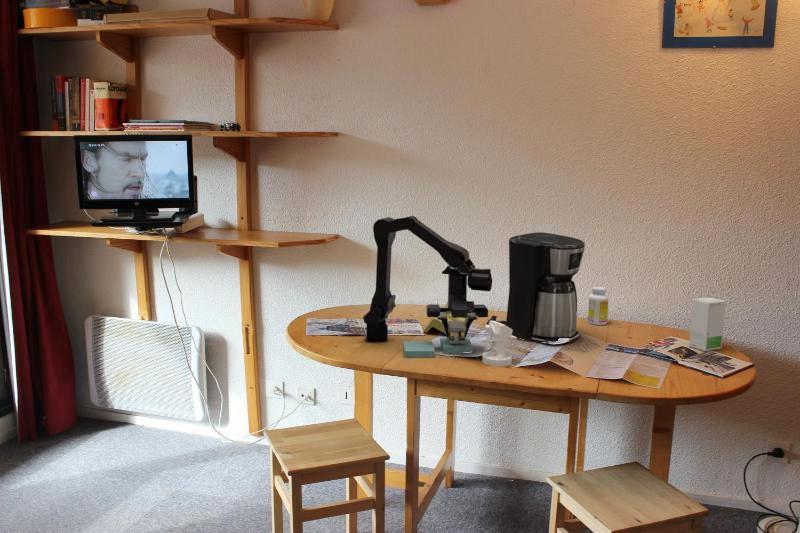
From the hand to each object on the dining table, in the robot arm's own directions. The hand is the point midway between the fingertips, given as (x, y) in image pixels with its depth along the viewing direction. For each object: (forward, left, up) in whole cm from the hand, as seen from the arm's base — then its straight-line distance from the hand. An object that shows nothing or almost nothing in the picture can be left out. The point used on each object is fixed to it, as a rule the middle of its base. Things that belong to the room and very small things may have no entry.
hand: (456, 337), depth 211 cm
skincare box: (+79, 0, -4) cm, 79 cm away
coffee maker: (+30, +18, -4) cm, 35 cm away
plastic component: (0, +23, -4) cm, 23 cm away
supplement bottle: (+54, +29, -4) cm, 61 cm away
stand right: (0, 0, -4) cm, 4 cm away
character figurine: (+11, -13, -4) cm, 17 cm away
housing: (0, 0, -1) cm, 1 cm away
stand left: (-12, -4, -4) cm, 13 cm away
